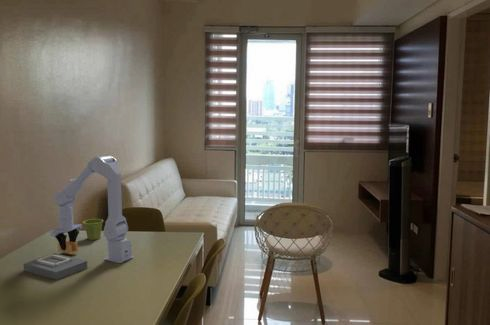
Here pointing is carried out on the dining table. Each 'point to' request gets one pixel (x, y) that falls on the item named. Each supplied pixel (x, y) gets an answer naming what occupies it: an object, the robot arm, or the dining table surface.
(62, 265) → the large grey panel
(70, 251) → the chute
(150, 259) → the dining table surface
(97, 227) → the plant pot
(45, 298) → the dining table surface
